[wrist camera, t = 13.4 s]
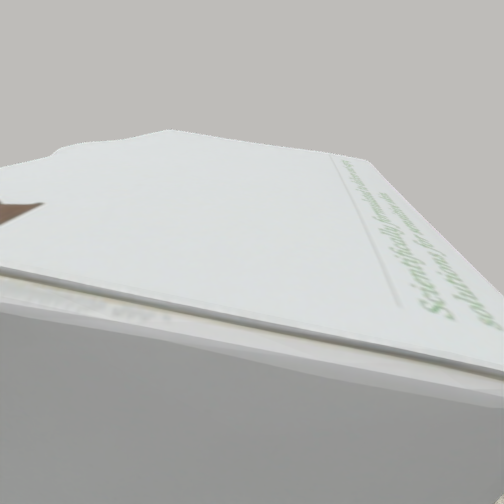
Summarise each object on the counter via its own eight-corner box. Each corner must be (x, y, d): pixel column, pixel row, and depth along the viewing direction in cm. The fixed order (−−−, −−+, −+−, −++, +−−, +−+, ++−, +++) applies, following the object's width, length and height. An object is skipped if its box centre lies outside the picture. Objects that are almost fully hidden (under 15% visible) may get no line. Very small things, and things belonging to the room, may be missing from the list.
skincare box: (261, 742, 9) (779, 500, 1) (51, 681, 10) (-402, 232, 2) (279, 450, 16) (384, 154, 9) (160, 422, 17) (160, 114, 9)
